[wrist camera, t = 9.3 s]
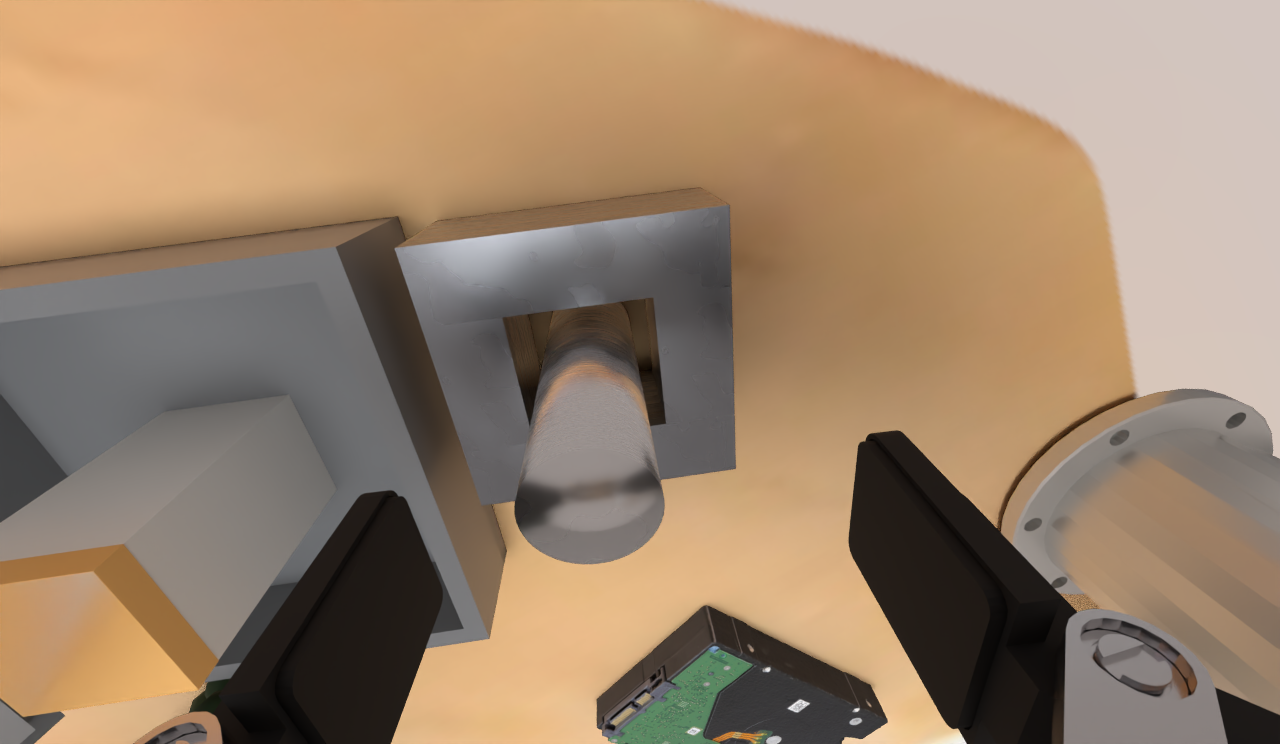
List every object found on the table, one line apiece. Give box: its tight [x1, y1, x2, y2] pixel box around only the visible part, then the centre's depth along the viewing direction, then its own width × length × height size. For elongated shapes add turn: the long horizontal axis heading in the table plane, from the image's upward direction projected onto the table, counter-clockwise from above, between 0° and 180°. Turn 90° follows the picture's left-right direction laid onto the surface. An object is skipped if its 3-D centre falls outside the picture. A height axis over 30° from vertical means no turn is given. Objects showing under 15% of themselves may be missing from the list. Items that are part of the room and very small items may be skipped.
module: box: [0, 395, 337, 717], centre depth 15 cm, size 4×4×8 cm
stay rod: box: [515, 302, 664, 564], centre depth 14 cm, size 3×3×10 cm
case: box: [0, 217, 507, 682], centre depth 18 cm, size 16×16×4 cm
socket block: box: [395, 188, 736, 506], centre depth 17 cm, size 9×9×4 cm
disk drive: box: [597, 605, 888, 744], centre depth 30 cm, size 10×3×15 cm
